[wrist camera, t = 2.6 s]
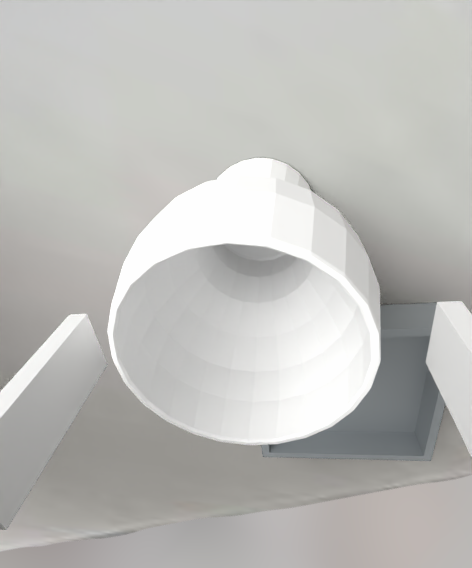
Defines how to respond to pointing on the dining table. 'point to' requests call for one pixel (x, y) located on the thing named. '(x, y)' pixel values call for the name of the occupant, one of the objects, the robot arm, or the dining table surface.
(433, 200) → the dining table surface
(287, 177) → the cup
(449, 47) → the dining table surface
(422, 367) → the tray
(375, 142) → the dining table surface
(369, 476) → the dining table surface
